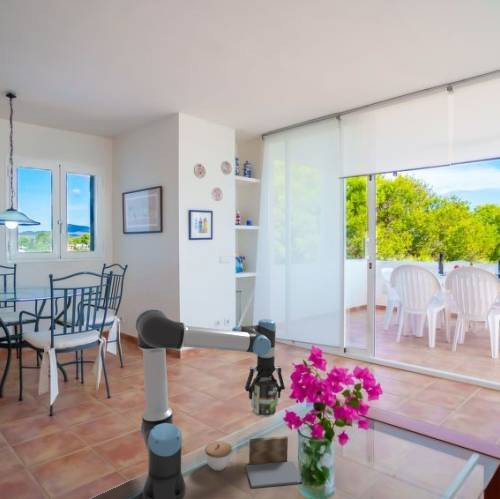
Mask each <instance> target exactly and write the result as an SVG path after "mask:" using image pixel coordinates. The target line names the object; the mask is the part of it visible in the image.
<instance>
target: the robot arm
mask: <svg viewBox="0 0 500 499" xmlns="http://www.w3.org/2000/svg"><path fill="white" fill-rule="evenodd" d="M276 327H277V326H276V321H275V320H272V319H269V318H267V319H266V318H263V319H259V320H258V322H257V324H256V325H243V326H242V325H239V326H234V327H233V328H232V329H231V330H230V329H229V330H228V329H219V328H211V327H210V328H209V327H208V328H207V327H201V326H192V325H191V326H189V325H186V324H185V323H184V322H180V321H174V320H172V319H169V318H168V317H167V315H166V314H165V313H164V312H163V311H162V310H159V309H156V308H149V309H145V310H143V311H142V312H141V313H140V314H139V315H138V317H137V318H136V321H135V330H136V331H137V342H138V343H137V344H138V349H140V350H141V351H142V358H143V359H142V360H143V362H142V363H143V381H144V400H145V401H144V402H145V410H144V411H143V412H142V413H141V426H140V432H141V435H142V438H143V440H144V444H145V447H146V448H145V449H146V450H147V454H148V455H147V456H148V468H147V469H148V472H147V473H148V474H147V477H146V480H145V483H144V486H143V489H142V498H144V499H184V497H185V495H186V481H185V478H184V476H183V473H182V443H183V436H182V430H181V429H180V428H179V427H178V426H177V425H175V424H174V419H173V418H174V417H173V415H174V414H173V409H172V408H171V407H170V406H169V396H168V395H169V394H168V377H167V376H168V374H167V373H168V372H167V356H166V355H167V354H166V349H168V350H169V349H170V350H181V349H182V348H191V349H195V348H196V349H203V350H204V349H205V350H216V351H217V350H219V351H228V352H229V351H230V352H240V353H242V352H243V353H253V354H254V355H256V356H257V357H256V360H257V361H256V367H252V366H251V367H249V374H248V377H247V381H246V384H245V387H244V389H245V391H246V392H248V398H249V400H250V406H251V408H252V409H253V408H254V391H253V390H254V388H255V383H254V382H253V380H255V382H259V380H260V379H261V378H262V377H271V379H272V380H273V381H276V380H277V379H276V378H275V376H274V373H275V371H276V374H277V378H278V381H279V384H280V385H279V384H278V382H277V387H276V407H278V406H279V399H280V398H281V392H282V391H284V390H285V389H286V387H285V384H284V379H283V376H282V367H281V366H275V357H276V356H275V355H276V353H275V352H276V351H275V350H276V331H277V330H276V329H277V328H276ZM256 372H257V374H256V376H255V379H254V378H253V377H254V374H255V373H256ZM275 379H276V380H275Z"/></svg>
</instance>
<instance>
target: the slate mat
mask: <svg viewBox="0 0 500 499" xmlns="http://www.w3.org/2000/svg"><path fill="white" fill-rule="evenodd" d="M245 470H246V474H247V477H248V480H249V483H250V484H249V485H250V487H251V489H252V488H253V489H254V488H264V487H273V486H275V487H276V486H283V485H295V484H299V483H298V472H299V471H298V468H297V466H296V464H295V463H294V461H285V462H273V463H261V464H249V465H245Z"/></svg>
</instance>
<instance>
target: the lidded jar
mask: <svg viewBox="0 0 500 499" xmlns="http://www.w3.org/2000/svg"><path fill="white" fill-rule="evenodd" d="M204 450H205V451H204V452H205V456H204V457H205V461H206V464H207V465H208V467H210V469H211V468H212V469H211V470H213V469H214V470H213V471H216V472H218V471H219V472H220V471H223V470H225V468H226V467H227V466H228V465H229V464H230V461H231V458H232V450H233V449H232V446H231V444H230V443H228V442H226V441H222V440H215V441H212V442H209V443H208V444H206V446H205V449H204ZM217 470H218V471H217Z"/></svg>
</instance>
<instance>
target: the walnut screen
mask: <svg viewBox="0 0 500 499" xmlns="http://www.w3.org/2000/svg"><path fill="white" fill-rule="evenodd" d="M288 441H289V438H288V436H287V435H284V436H273V437H260V438H257V437H256V438H249V450H248V452H249V453H248V463H249V465H258V464H269V463H281V462H288V448H289V447H288V445H289V444H288V443H289V442H288Z"/></svg>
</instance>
